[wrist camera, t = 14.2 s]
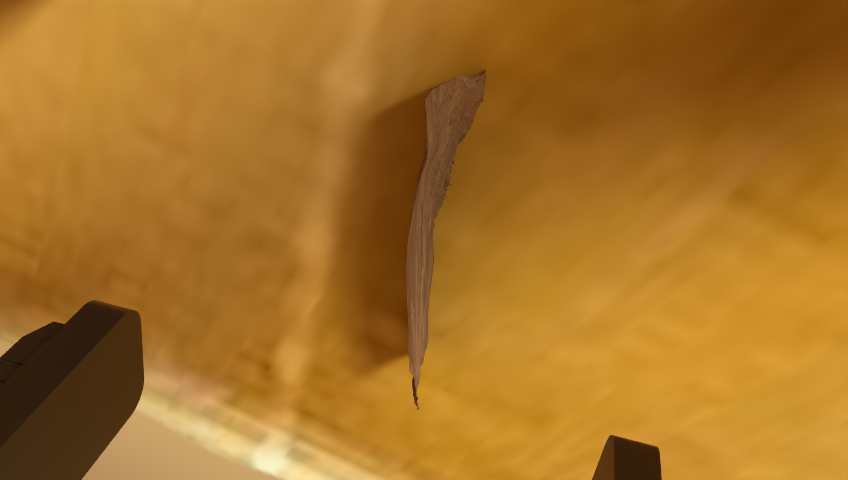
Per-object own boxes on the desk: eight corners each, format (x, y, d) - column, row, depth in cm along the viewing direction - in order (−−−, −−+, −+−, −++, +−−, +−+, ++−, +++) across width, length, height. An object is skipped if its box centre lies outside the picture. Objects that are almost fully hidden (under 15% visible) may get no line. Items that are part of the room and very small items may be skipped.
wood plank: (453, 350, 41) (437, 415, 37) (415, 344, 41) (395, 406, 37) (486, 68, 33) (471, 108, 29) (439, 62, 34) (417, 100, 29)
